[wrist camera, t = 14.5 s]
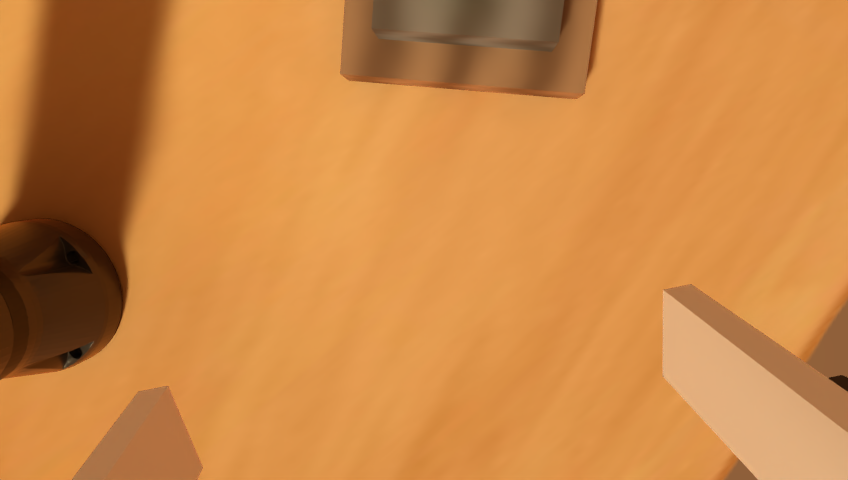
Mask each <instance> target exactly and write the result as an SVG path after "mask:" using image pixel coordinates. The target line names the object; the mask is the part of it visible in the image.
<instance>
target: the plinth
mask: <svg viewBox="0 0 848 480" xmlns="http://www.w3.org/2000/svg"><path fill="white" fill-rule="evenodd" d="M597 1H598V0H345V7H344V23H343V39H342V55H341V71H340V74H341V75H342V76H344V77H345V78H346V79H348V80H349V81H361V82H373V83H386V84H398V85H410V86H422V87H435V88H447V89H459V90H471V91H484V92H496V93H508V94H520V95H533V96H545V97H557V98H569V99H577V98H579V97H580V96H582V95H583V94H585V86H586V79H587V72H588V65H589V58H590V51H591V44H592V36H593V29H594V22H595V15H596V8H597Z"/></svg>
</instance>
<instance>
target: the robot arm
mask: <svg viewBox="0 0 848 480" xmlns="http://www.w3.org/2000/svg"><path fill="white" fill-rule="evenodd" d="M121 311H122V293H121V287H120V283H119V279H118V276H117V273H116V271H115V268H114V266H113V264H112V263H111V261H110V259H109V258H108V256H107V255H106V253H105V252H104V251H103V249H102V248H101V247H100V246H99V245H98V244H97V243H96V242H95V241H94V240H93V239H92V238H91V237H90V236H88V235H87V234H86V233H84V232H83V231H81V230H80V229H78V228H76V227H74V226H72V225H70V224H67V223H64V222H61V221H57V220H52V219H31V220H23V221H15V222H10V223H6V224H3V225H0V380H1V379H4V378H11V377H19V376H26V375H34V374H42V373H49V372H56V371H61V370H64V369H67V368H70V367H72V366H75V365H77V364H79V363H81V362H83V361H85V360H87V359H89V358H91V357H92V356H94V355H96V354H97V353H98V352H100V351H101V350H102V349H103V348H104V347H105V346H106V345H107V344H108V343H109V341H110V340H111V339H112V337H113V335H114V334H115V332H116V329H117V327H118V324H119V321H120V317H121ZM663 377H664V378H665V379H666V380H667V381H668V382H669V384H670V385H671V386H672V387H673V388H674V389H675V390H676V391H677V392H678V393H679V394H680V395H681V397H682V398H683V399H684V400H685V401H686V402H687V403H688V404H689V405H690V406H691V407H692V408H693V410H694V411H695V412H696V413H697V414H698V415H699V416H700V417H701V418H702V419H703V420H704V421H705V423H706V424H707V425H708V426H709V427H710V428H711V429H712V430H713V431H714V432H715V433H716V434H717V436H718V437H719V438H720V439H721V440H722V441H723V442H724V443H725V444H726V445H727V446H728V447H729V449H730V450H731V451H732V452H733V453H734V454H735V455H736V456H737V457H738V458H739V459H740V460H741V462H742V463H743V464H744V465H745V466H746V467H747V468H748V469H749V470H750V471H751V472H752V473H753V474H754V476H755V477H756V478H757V479H758V480H848V378H847V377H845V376H842V375H840V376H836V377H831V378H827V377H826V376H824V375H822V374H821V373H819V372H818V371H817V370H815V369H814V368H812V367H811V366H809V365H808V364H807V363H805V362H804V361H802V360H801V359H799V358H798V357H796V356H795V355H793V354H792V353H791V352H789V351H788V350H786V349H785V348H783V347H782V346H780V345H779V344H777V343H776V342H775V341H773V340H772V339H770V338H769V337H767V336H766V335H764V334H763V333H761V332H760V331H759V330H757V329H756V328H754V327H753V326H751V325H750V324H748V323H747V322H745V321H744V320H743V319H741V318H740V317H738V316H737V315H735V314H734V313H732V312H731V311H729V310H728V309H727V308H725V307H724V306H722V305H721V304H719V303H718V302H716V301H715V300H713V299H712V298H711V297H709V296H708V295H706V294H705V293H703V292H702V291H700V290H699V289H697V288H696V287H694V286H693V285H692V284H690V285H685V286H680V287H675V288H669V289H664V290H663ZM202 468H203V467H202V464H201V462H200V460H199V457H198V455H197V453H196V450H195V448H194V445H193V443H192V441H191V438H190V436H189V434H188V431H187V429H186V427H185V424H184V422H183V420H182V417H181V415H180V413H179V410H178V408H177V406H176V403H175V401H174V399H173V396H172V394H171V392H170V389H169V387H168V386H164V387H159V388H154V389H149V390H144V391H139V392H138V393H137V394H136V395H135V397H134V398H133V399H132V401H131V402H130V403H129V405H128V406H127V407H126V409H125V410H124V411H123V413H122V414H121V415H120V417H119V418H118V419H117V421H116V422H115V423H114V424H113V426H112V427H111V428H110V430H109V431H108V432H107V434H106V435H105V436H104V438H103V439H102V440H101V442H100V443H99V444H98V446H97V447H96V448H95V450H94V451H93V452H92V454H91V455H90V456H89V458H88V459H87V460H86V461H85V463H84V464H83V465H82V467H81V468H80V469H79V471H78V472H77V473H76V475H75V476H74V477H73V479H72V480H197V479H198V477H199V475H200V473H201V471H202Z"/></svg>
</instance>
